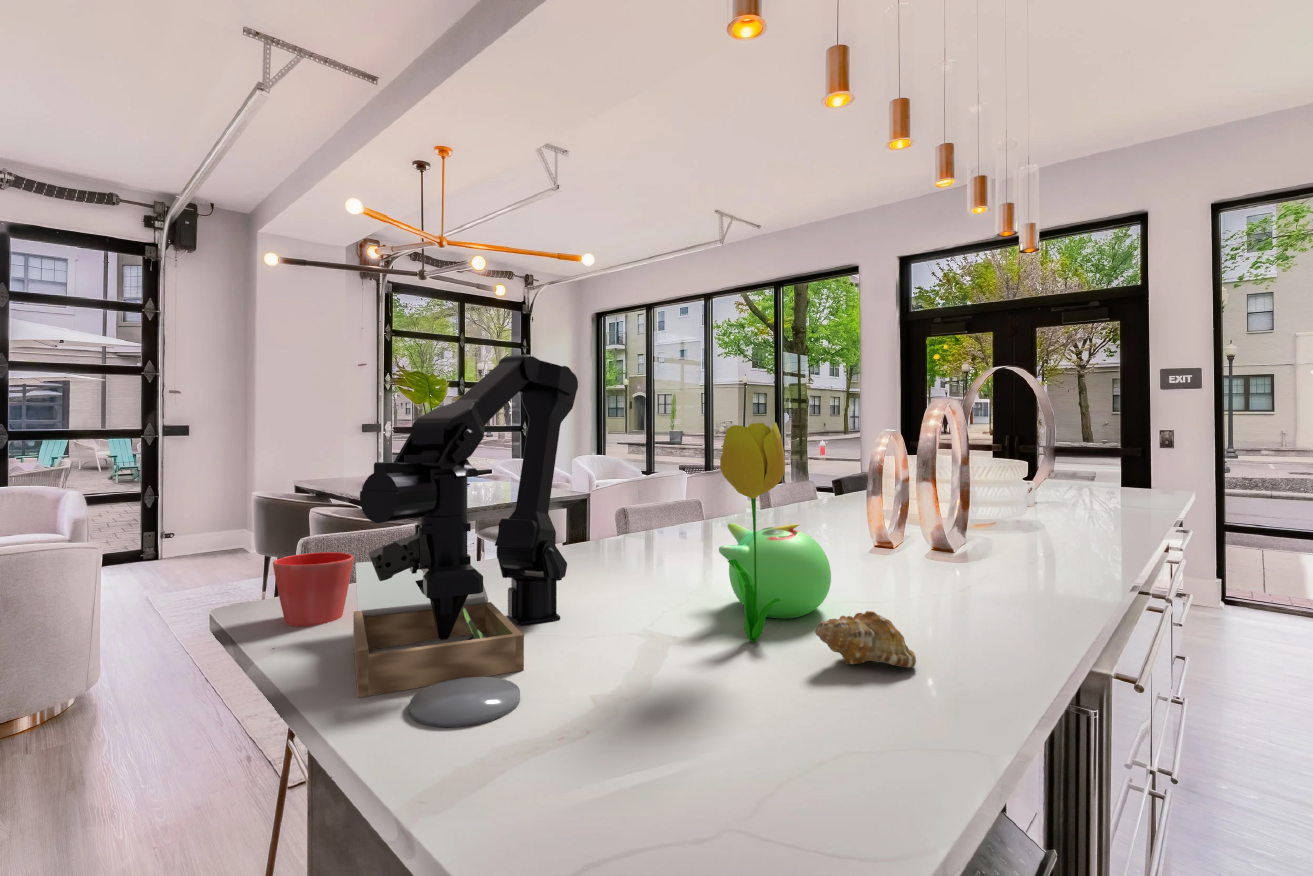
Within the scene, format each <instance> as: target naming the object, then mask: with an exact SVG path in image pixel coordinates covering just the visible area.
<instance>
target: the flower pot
mask: <svg viewBox="0 0 1313 876" xmlns="http://www.w3.org/2000/svg"><path fill="white" fill-rule="evenodd" d="M353 562H354V556H353V554H350V553H346V552H340V551H337V552H335V551H334V552H333V551H325V552H323V551H322V552H309V553H308V552H307V553H301V554H293V555H289V556H284V557H280V558H277V559H276V560H273V562H272V567H273V572H274V578H275V582H276V587H277V592H278V593H277V594H278V597H279V602H280V606H281V610H282V615H283V620H284V622H285V625H287V626H289V627H311V626H312V627H314V626H320V625H324V623H325V624H329V623H332V622H334V621H337V620H339V619H340V618H342V617H343V615H344V612H345V606H346V601H347V600H346V599H347V595H348V590H349V586H350V585H349V584H350V581H351V580H350V579H351V574H352V568H353V564H354V563H353ZM328 622H329V623H328ZM313 625H314V626H313Z"/></svg>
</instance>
